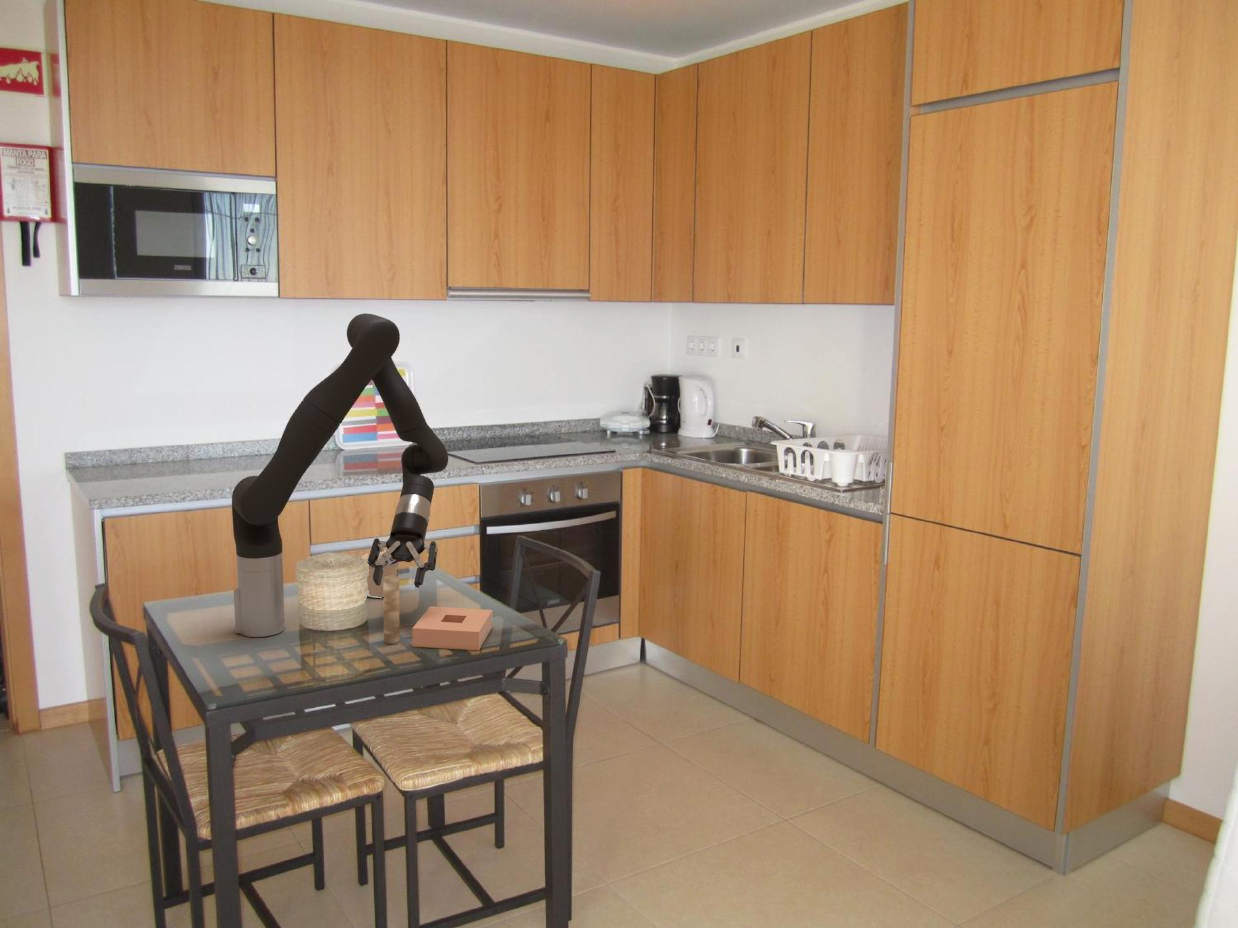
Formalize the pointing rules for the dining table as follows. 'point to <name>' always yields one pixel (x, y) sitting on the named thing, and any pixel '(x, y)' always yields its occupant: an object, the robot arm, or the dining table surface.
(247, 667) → the dining table surface
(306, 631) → the dining table surface
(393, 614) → the peg
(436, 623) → the socket block
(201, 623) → the dining table surface
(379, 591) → the tan lidded jar
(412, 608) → the dining table surface
